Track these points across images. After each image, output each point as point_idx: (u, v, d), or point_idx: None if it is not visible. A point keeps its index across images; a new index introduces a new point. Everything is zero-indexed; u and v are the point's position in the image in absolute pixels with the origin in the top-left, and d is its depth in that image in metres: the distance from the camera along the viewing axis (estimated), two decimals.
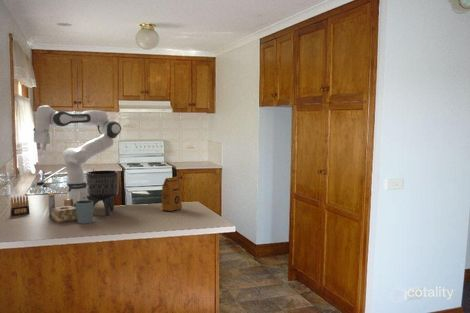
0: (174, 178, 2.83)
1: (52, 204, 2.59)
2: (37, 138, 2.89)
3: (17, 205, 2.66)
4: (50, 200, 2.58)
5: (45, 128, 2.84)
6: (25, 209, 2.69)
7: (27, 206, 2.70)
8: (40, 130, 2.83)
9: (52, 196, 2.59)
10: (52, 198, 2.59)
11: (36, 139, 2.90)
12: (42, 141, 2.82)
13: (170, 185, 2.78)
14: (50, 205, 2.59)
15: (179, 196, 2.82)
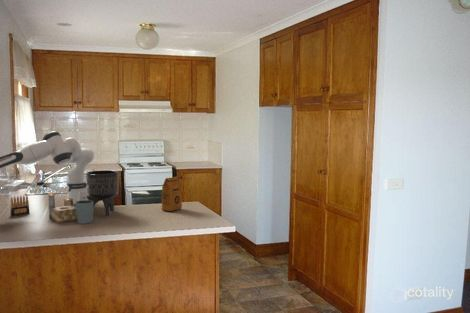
0: (174, 178, 2.83)
1: (52, 204, 2.59)
2: None
3: (17, 205, 2.66)
4: (50, 200, 2.58)
5: (1, 186, 2.50)
6: (25, 209, 2.69)
7: (27, 206, 2.70)
8: (4, 191, 2.51)
9: (52, 196, 2.59)
10: (52, 198, 2.59)
11: None
12: (16, 190, 2.50)
13: (170, 185, 2.78)
14: (50, 205, 2.59)
15: (179, 196, 2.82)
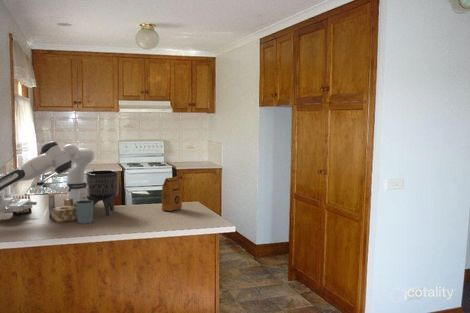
0: (174, 178, 2.83)
1: (52, 204, 2.59)
2: None
3: None
4: (50, 200, 2.58)
5: (5, 206, 2.52)
6: None
7: None
8: (9, 210, 2.53)
9: (52, 196, 2.59)
10: (52, 198, 2.59)
11: None
12: None
13: (170, 185, 2.78)
14: (50, 205, 2.59)
15: (179, 196, 2.82)
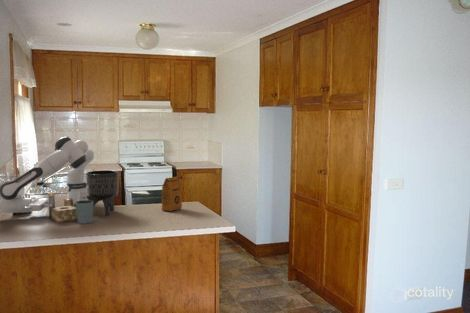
0: (174, 178, 2.83)
1: None
2: None
3: None
4: (50, 200, 2.58)
5: (25, 205, 2.54)
6: None
7: None
8: (28, 210, 2.55)
9: (52, 196, 2.59)
10: (52, 198, 2.59)
11: None
12: None
13: (170, 185, 2.78)
14: None
15: (179, 196, 2.82)
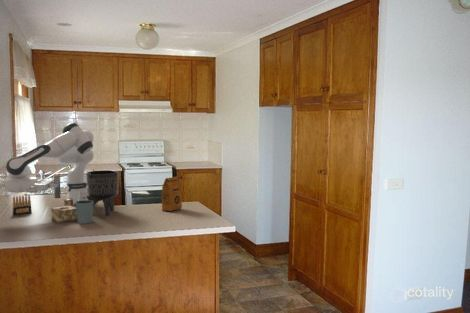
0: (174, 178, 2.83)
1: None
2: None
3: (19, 205, 2.67)
4: (55, 180, 2.54)
5: (30, 185, 2.49)
6: (27, 209, 2.70)
7: (29, 206, 2.71)
8: (34, 190, 2.50)
9: (57, 176, 2.54)
10: (57, 178, 2.54)
11: None
12: None
13: (170, 185, 2.78)
14: None
15: (179, 196, 2.82)
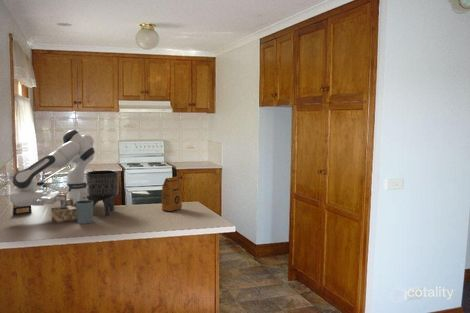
0: (174, 178, 2.83)
1: (64, 204, 2.53)
2: None
3: None
4: (62, 200, 2.53)
5: (37, 199, 2.47)
6: (27, 209, 2.70)
7: (29, 206, 2.71)
8: (40, 203, 2.48)
9: (64, 196, 2.53)
10: None
11: None
12: None
13: (170, 185, 2.78)
14: (62, 205, 2.53)
15: (179, 196, 2.82)
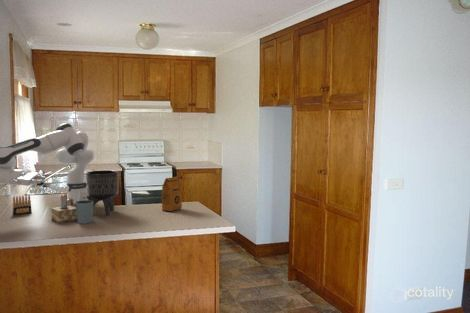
0: (174, 178, 2.83)
1: (64, 205, 2.53)
2: None
3: (19, 205, 2.67)
4: (62, 200, 2.52)
5: (13, 178, 2.44)
6: (27, 209, 2.70)
7: (29, 206, 2.71)
8: (16, 183, 2.45)
9: (64, 196, 2.52)
10: (64, 198, 2.53)
11: None
12: None
13: (170, 185, 2.78)
14: (62, 206, 2.53)
15: (179, 196, 2.82)
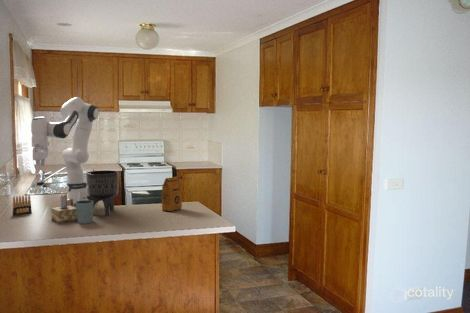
0: (174, 178, 2.83)
1: (64, 205, 2.53)
2: None
3: (19, 205, 2.67)
4: (62, 200, 2.52)
5: (38, 142, 2.54)
6: (27, 209, 2.70)
7: (29, 206, 2.71)
8: (33, 145, 2.54)
9: (64, 196, 2.52)
10: (64, 198, 2.52)
11: None
12: None
13: (170, 185, 2.78)
14: (62, 206, 2.52)
15: (179, 196, 2.82)
